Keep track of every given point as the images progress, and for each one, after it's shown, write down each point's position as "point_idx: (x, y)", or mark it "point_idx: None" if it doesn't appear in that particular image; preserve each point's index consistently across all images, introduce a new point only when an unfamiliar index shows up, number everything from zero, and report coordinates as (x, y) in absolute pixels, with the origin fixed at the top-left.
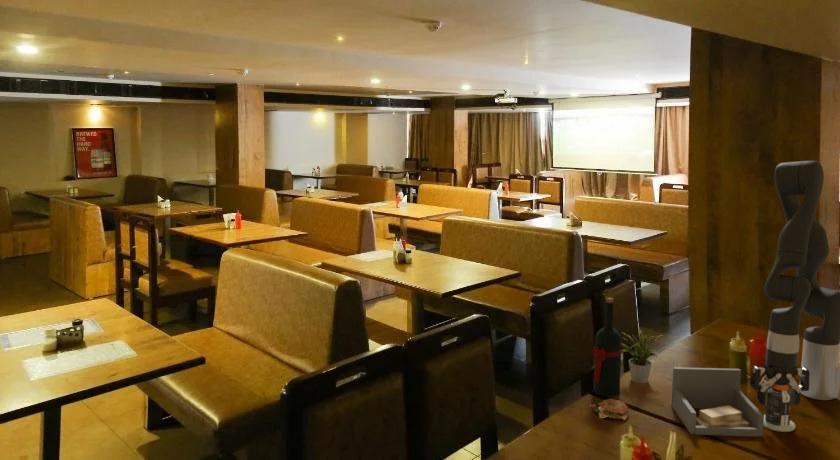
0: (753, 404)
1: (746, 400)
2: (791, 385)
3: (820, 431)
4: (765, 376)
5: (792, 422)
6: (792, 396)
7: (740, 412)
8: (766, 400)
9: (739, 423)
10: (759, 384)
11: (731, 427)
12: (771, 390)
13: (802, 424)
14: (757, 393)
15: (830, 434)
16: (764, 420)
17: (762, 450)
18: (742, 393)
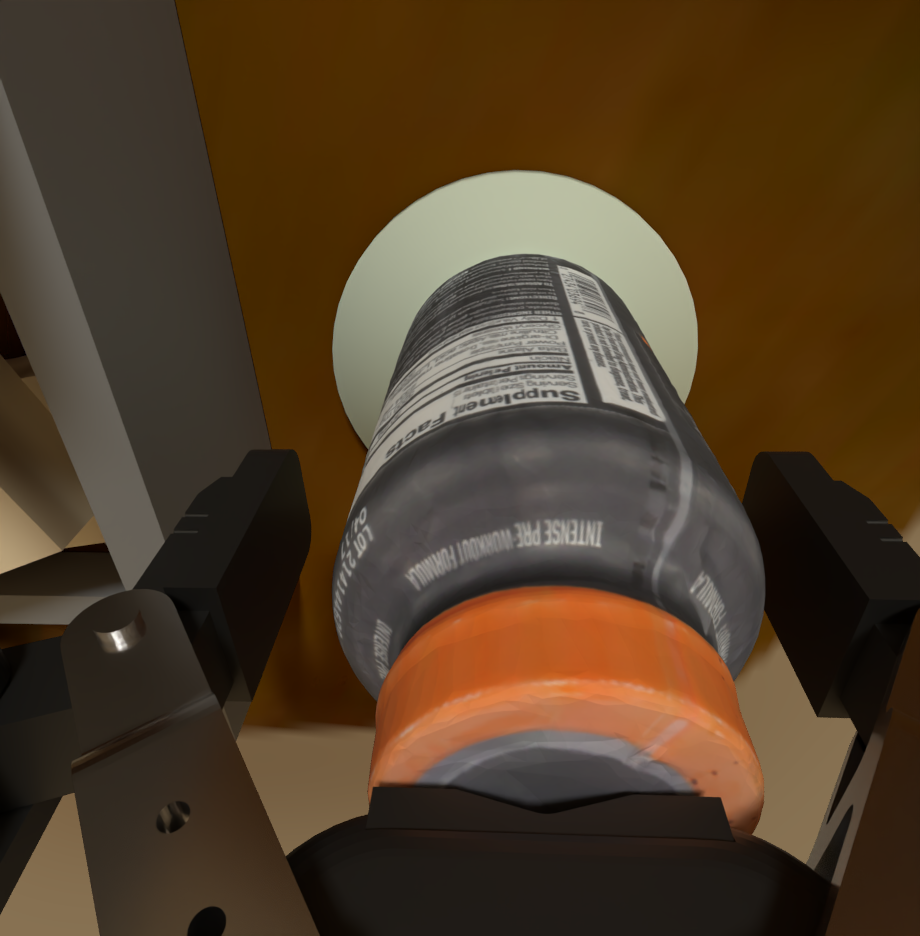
0: (162, 537)
1: (73, 426)
2: (878, 724)
3: (859, 474)
4: (114, 923)
5: (684, 369)
6: (799, 534)
7: (45, 556)
8: (367, 453)
9: (96, 535)
10: (86, 702)
11: (25, 607)
12: (376, 664)
13: (794, 346)
14: (159, 556)
15: (904, 519)
16: (397, 344)
17: (251, 716)
18: (5, 107)
